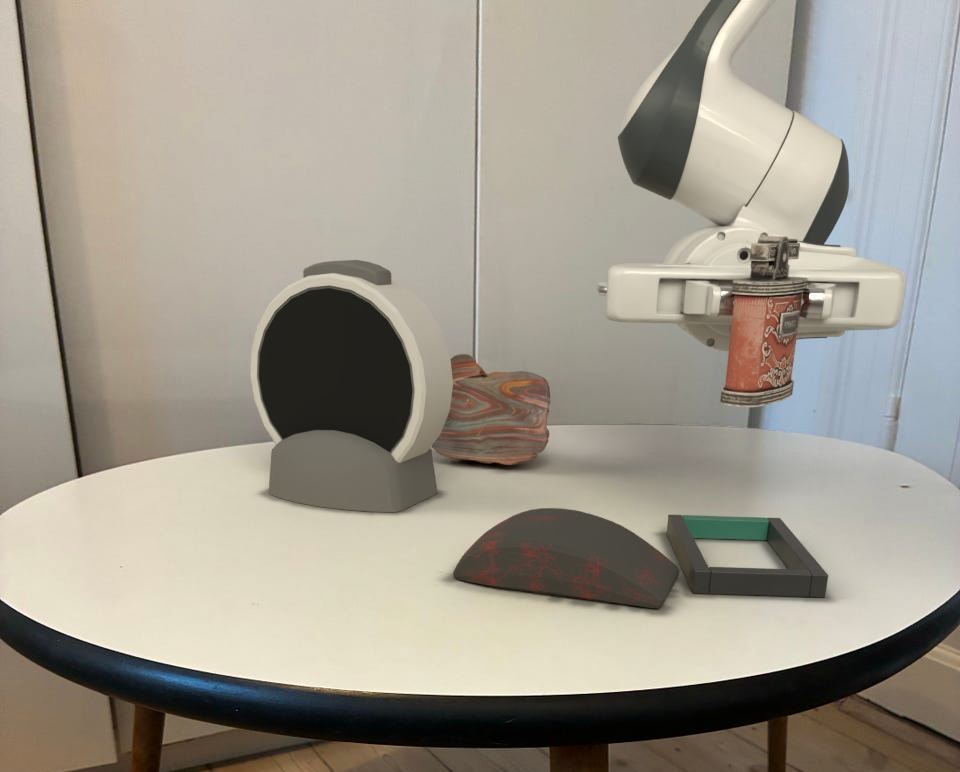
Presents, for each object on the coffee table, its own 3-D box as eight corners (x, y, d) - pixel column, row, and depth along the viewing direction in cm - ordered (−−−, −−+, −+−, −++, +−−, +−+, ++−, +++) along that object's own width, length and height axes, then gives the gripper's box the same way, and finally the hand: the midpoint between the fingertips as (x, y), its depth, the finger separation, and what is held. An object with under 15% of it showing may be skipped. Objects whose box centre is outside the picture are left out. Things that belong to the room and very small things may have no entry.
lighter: (759, 409, 64) (779, 237, 60) (708, 403, 66) (725, 236, 62) (802, 393, 70) (824, 236, 66) (755, 388, 72) (773, 235, 68)
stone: (413, 464, 96) (412, 354, 92) (443, 447, 104) (443, 344, 100) (543, 475, 93) (548, 362, 89) (564, 457, 100) (570, 351, 96)
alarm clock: (236, 494, 84) (219, 258, 77) (306, 470, 93) (296, 255, 86) (409, 520, 78) (407, 266, 71) (466, 491, 87) (470, 262, 80)
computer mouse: (485, 550, 71) (487, 494, 70) (682, 575, 67) (687, 516, 66) (443, 586, 64) (444, 524, 63) (660, 615, 60) (666, 550, 59)
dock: (777, 537, 76) (780, 517, 75) (825, 597, 64) (828, 575, 63) (666, 533, 76) (668, 514, 75) (692, 593, 64) (694, 570, 63)
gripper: (597, 242, 77) (611, 247, 64) (873, 247, 76) (942, 253, 63) (592, 329, 79) (604, 351, 66) (860, 335, 78) (924, 358, 66)
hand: (772, 303), depth 65 cm, fingers closed on lighter, 5 cm apart
